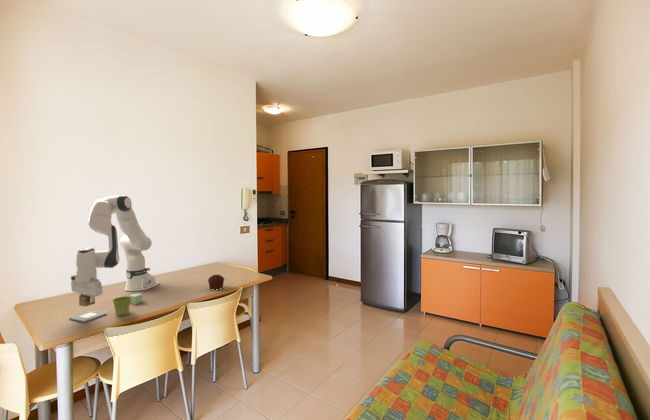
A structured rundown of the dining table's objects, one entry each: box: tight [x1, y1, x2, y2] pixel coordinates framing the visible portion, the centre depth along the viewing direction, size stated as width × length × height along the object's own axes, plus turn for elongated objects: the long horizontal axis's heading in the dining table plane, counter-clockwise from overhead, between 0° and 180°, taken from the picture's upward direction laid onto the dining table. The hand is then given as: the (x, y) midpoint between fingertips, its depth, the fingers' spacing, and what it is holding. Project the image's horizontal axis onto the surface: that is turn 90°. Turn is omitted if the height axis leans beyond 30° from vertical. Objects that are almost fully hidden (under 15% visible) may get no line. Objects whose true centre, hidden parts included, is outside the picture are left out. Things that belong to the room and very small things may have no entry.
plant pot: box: [112, 295, 132, 317], centre depth 178 cm, size 9×9×9 cm
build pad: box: [69, 309, 108, 324], centre depth 173 cm, size 12×12×1 cm
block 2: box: [129, 292, 143, 305], centre depth 196 cm, size 5×5×5 cm
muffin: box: [207, 274, 225, 291], centre depth 226 cm, size 12×11×10 cm
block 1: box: [78, 294, 96, 307], centre depth 172 cm, size 5×5×5 cm
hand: (87, 301), depth 172 cm, fingers closed on block 1, 5 cm apart
